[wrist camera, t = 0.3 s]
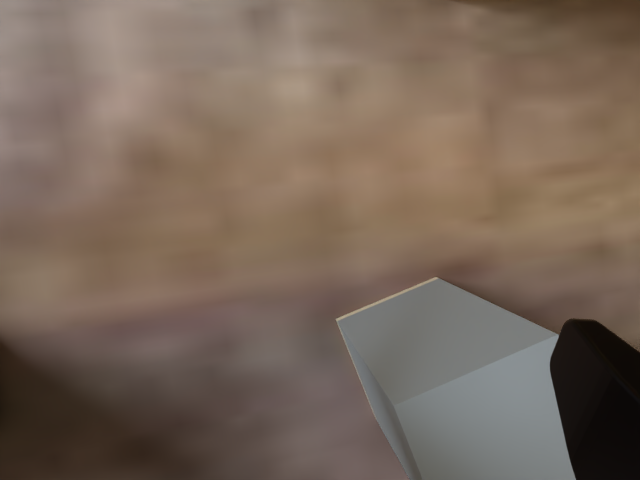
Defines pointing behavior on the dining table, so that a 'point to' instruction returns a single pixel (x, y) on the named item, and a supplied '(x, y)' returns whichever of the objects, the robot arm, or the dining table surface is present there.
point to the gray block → (459, 385)
